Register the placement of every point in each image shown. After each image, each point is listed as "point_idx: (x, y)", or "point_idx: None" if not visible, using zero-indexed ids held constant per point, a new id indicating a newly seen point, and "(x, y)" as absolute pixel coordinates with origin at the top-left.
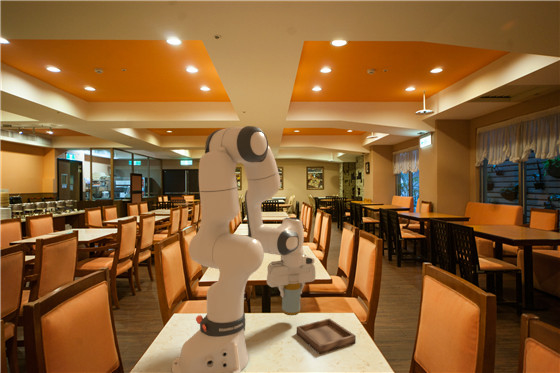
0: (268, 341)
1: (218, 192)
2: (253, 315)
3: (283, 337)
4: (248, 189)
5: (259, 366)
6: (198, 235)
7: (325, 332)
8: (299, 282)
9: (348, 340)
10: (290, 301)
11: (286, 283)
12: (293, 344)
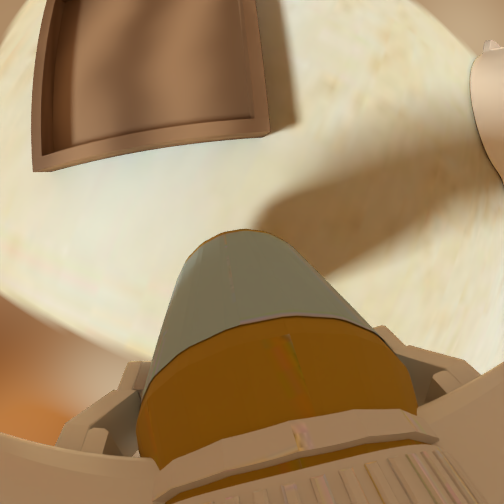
0: (404, 138)
1: None
2: None
3: (339, 134)
4: None
5: (448, 36)
6: None
7: (118, 74)
8: (152, 465)
9: None
10: (307, 266)
11: (459, 408)
12: (318, 60)
